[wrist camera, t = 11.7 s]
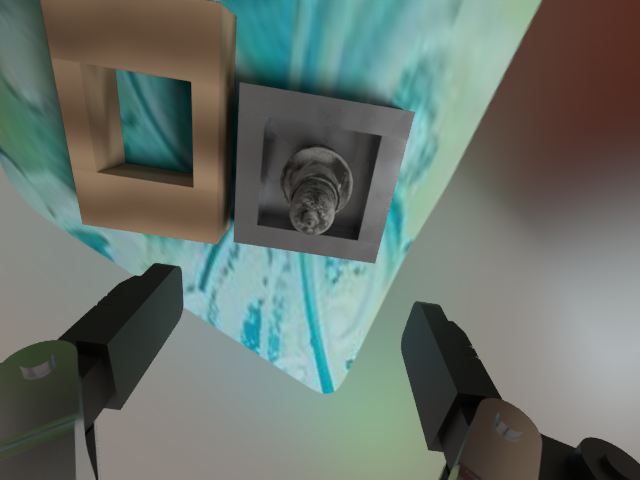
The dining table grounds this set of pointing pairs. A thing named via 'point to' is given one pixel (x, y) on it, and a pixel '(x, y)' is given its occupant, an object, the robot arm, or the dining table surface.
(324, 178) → the chess piece
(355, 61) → the dining table surface
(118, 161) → the wooden rectangular frame
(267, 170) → the seat block
